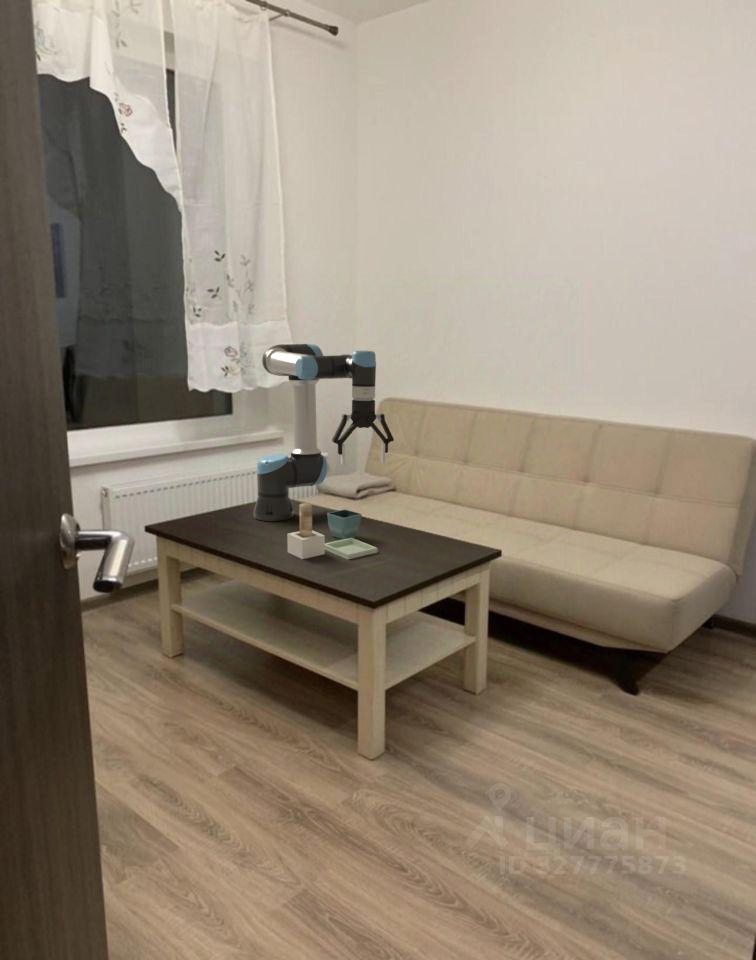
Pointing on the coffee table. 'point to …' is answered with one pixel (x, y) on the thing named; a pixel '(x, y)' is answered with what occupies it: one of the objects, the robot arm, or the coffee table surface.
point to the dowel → (305, 520)
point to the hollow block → (306, 545)
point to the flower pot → (344, 523)
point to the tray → (350, 548)
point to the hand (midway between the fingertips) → (362, 463)
